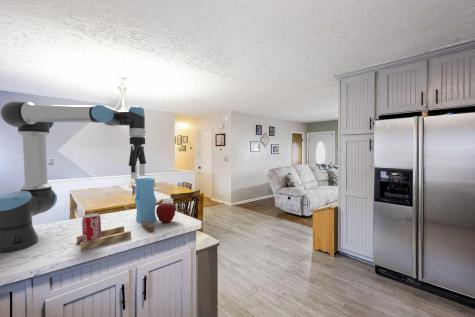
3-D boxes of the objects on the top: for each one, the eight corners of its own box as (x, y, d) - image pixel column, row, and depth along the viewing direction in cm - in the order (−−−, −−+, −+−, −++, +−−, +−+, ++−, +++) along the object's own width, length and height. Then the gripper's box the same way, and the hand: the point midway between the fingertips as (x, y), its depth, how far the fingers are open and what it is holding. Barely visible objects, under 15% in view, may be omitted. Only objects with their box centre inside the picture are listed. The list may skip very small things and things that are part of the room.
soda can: (92, 247, 99) (91, 217, 98) (78, 245, 100) (77, 216, 100) (105, 240, 106) (104, 213, 105) (92, 239, 107) (91, 212, 107)
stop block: (150, 232, 115) (150, 226, 115) (141, 226, 124) (141, 221, 124) (154, 231, 117) (154, 226, 117) (145, 226, 125) (145, 220, 125)
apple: (160, 226, 125) (159, 205, 124) (153, 221, 133) (153, 202, 132) (178, 222, 132) (178, 202, 131) (171, 218, 140) (171, 199, 139)
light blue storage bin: (135, 219, 137) (134, 178, 136) (151, 216, 143) (150, 177, 142) (139, 223, 130) (138, 180, 129) (156, 220, 136) (155, 179, 135)
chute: (81, 250, 95) (81, 243, 95) (76, 242, 104) (76, 236, 104) (131, 237, 109) (130, 231, 109) (123, 231, 117) (123, 225, 117)
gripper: (137, 135, 106) (138, 180, 107) (150, 138, 131) (151, 174, 132) (120, 135, 105) (121, 180, 106) (137, 138, 130) (138, 174, 131)
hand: (138, 177), depth 119 cm, fingers open, 13 cm apart
